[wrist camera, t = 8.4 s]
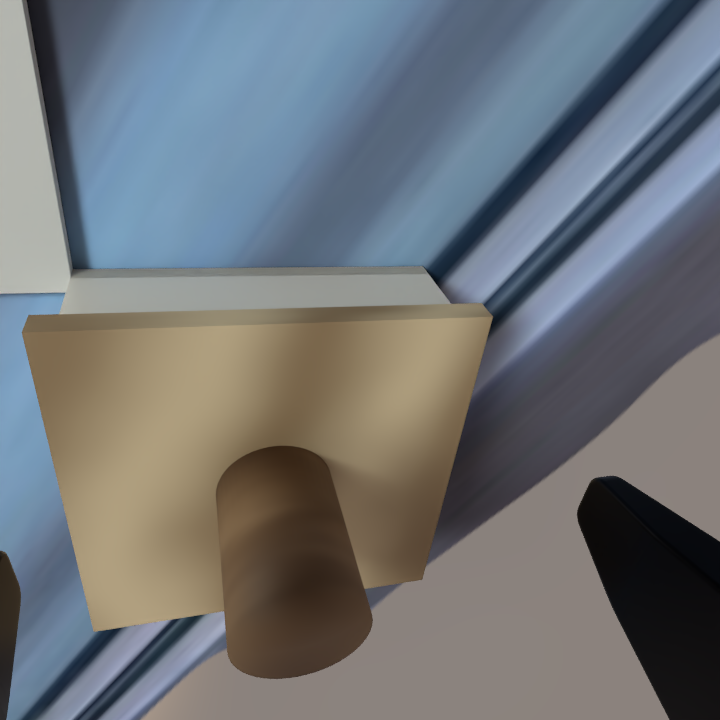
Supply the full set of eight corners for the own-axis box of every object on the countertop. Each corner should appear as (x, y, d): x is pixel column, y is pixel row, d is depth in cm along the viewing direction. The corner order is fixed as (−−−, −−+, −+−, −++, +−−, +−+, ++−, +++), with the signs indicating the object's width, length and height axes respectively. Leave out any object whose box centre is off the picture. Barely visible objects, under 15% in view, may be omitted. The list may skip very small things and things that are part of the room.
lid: (481, 302, 17) (590, 432, 13) (415, 562, 24) (472, 709, 19) (28, 315, 14) (-41, 492, 10) (96, 610, 21) (74, 799, 16)
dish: (422, 266, 20) (461, 317, 18) (381, 491, 26) (405, 556, 24) (72, 269, 17) (54, 331, 15) (116, 521, 23) (109, 599, 21)
